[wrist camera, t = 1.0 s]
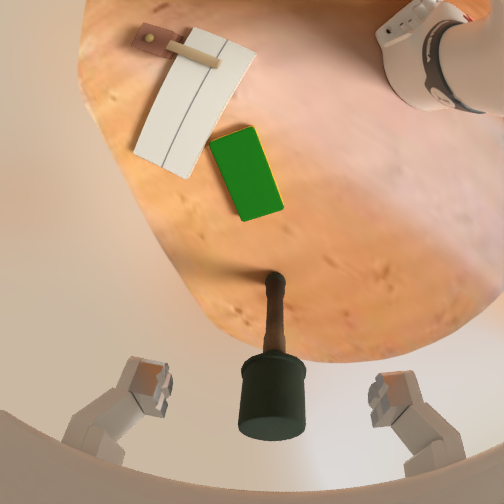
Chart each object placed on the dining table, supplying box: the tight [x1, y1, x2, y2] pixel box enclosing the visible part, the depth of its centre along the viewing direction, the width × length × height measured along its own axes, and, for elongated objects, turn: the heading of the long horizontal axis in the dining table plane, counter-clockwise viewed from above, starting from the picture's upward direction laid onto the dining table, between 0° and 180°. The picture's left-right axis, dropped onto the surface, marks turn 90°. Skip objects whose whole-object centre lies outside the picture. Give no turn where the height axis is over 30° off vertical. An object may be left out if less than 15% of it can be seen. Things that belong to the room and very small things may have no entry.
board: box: [133, 27, 257, 180], centre depth 38 cm, size 22×10×2 cm, turn 151°
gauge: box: [131, 23, 222, 69], centre depth 32 cm, size 4×13×6 cm, turn 61°
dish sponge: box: [209, 125, 284, 222], centre depth 43 cm, size 7×14×2 cm, turn 21°
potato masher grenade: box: [238, 272, 306, 441], centre depth 41 cm, size 8×9×30 cm
